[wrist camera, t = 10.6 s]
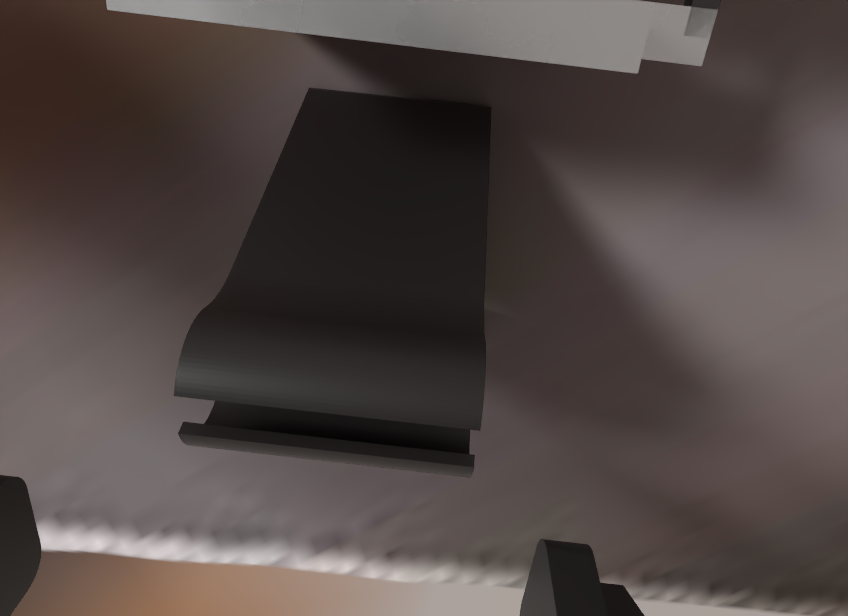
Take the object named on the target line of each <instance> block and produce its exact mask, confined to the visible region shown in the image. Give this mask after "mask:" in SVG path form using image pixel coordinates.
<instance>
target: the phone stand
mask: <svg viewBox="0 0 848 616" xmlns="http://www.w3.org/2000/svg"><path fill="white" fill-rule="evenodd" d="M490 127H491V107H485V106H476V105H467V104H457V103H448V102H438V101H429V100H420V99H410V98H401V97H391V96H382V95H373V94H363V93H354V92H344V91H335V90H326V89H316V88H309V89H308V92H307V94H306V96H305V99H304V101H303V103H302V106H301V108H300V110H299V113H298V115H297V117H296V120H295V122H294V124H293V127H292V129H291V131H290V134H289V136H288V138H287V141H286V143H285V145H284V148H283V150H282V152H281V155H280V157H279V159H278V162H277V164H276V166H275V169H274V171H273V174H272V176H271V178H270V181H269V183H268V185H267V188H266V190H265V192H264V195H263V197H262V199H261V202H260V204H259V206H258V209H257V211H256V213H255V216H254V218H253V220H252V223H251V225H250V227H249V230H248V232H247V234H246V237H245V239H244V241H243V244H242V246H241V248H240V251H239V253H238V255H237V258H236V260H235V262H234V265H233V267H232V269H231V272H230V274H229V276H228V278H227V280H226V282H225V284H224V286H223V287H222V289H221V291H220V292H219V294H218V295H217V296H216V298H215V299H214V300H213V301H212V302H211V303H210V304H209V305H208V306H207V307H205V308H204V309H203V310H202V311H201V312H200V313H199V314H198V315H197V317H196V318H195V320H194V321H193V323H192V325H191V327H190V329H189V331H188V334H187V336H186V339H185V342H184V344H183V348H182V351H181V355H180V359H179V363H178V368H177V374H176V380H175V390H174V396H179V397H188V398H197V399H206V400H214V401H215V403H214V406H213V408H212V411H211V413H210V415H209V417H208V419H207V420H206V422H205V423H204V424H198V423H189V422H183V424H182V426H181V428H180V431H179V433H178V434H179V437H180V439H181V440H182V441H183V442H184V443H185V444H186V445H191V446H200V447H208V448H217V449H226V450H235V451H243V452H252V453H261V454H270V455H278V456H287V457H296V458H305V459H313V460H322V461H331V462H340V463H348V464H357V465H366V466H375V467H383V468H392V469H401V470H410V471H418V472H427V473H436V474H445V475H453V476H462V477H471V476H472V473H473V470H474V455H470V454H469V441H470V430H479V431H480V428H481V419H482V410H483V399H484V387H485V370H486V342H485V334H484V291H485V264H486V237H487V209H488V182H489V155H490Z"/></svg>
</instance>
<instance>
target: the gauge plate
mask: <svg viewBox="0 0 848 616" xmlns="http://www.w3.org/2000/svg"><path fill="white" fill-rule="evenodd" d="M720 2H721V0H685V2H684V6H682V5H673V4H665V3H657V2H648V1H640V0H106V4H107V10H113V11H121V12H129V13H138V14H146V15H154V16H163V17H171V18H179V19H188V20H196V21H204V22H212V23H221V24H229V25H237V26H246V27H254V28H262V29H271V30H279V31H287V32H295V33H304V34H312V35H320V36H329V37H337V38H345V39H354V40H362V41H370V42H378V43H387V44H395V45H403V46H412V47H420V48H428V49H437V50H445V51H453V52H461V53H470V54H478V55H486V56H495V57H503V58H511V59H520V60H528V61H536V62H544V63H553V64H561V65H569V66H578V67H586V68H594V69H603V70H611V71H619V72H627V73H636V74H638V71H639V67H640V63H641V59H645V60H654V61H662V62H670V63H679V64H687V65H695V66H702V64H703V60H704V57H705V54H706V50H707V47H708V43H709V40H710V36H711V33H712V29H713V26H714V22H715V19H716V16H717V12H718V9H719V5H720Z"/></svg>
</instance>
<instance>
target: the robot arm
mask: <svg viewBox="0 0 848 616" xmlns="http://www.w3.org/2000/svg"><path fill="white" fill-rule="evenodd" d="M40 558H41V544H40V539H39V535H38V531H37V527H36V523H35V519H34V514H33V510H32V506H31V502H30V498H29V494H28V489H27V486H26V483H25V482H24V480H23V479H21V478H19V477H13V476H4V475H0V616H10V615H11V614H12V612H13V611H14V609H15V608H16V607H17V605H18V604H19V602H20V601H21V599H22V598H23V596H24V595H25V594H26V592H27V591H28V589H29V587H30V586H31V584H32V582H33V580H34V578H35V576H36V573H37V570H38V567H39V563H40ZM520 616H644V614H643V613H642V612H641V610H640V609H639V607H638V606H637V604H636V603H635V602H634V600H633V599H632V597H631V596H630V594H629V593H628V592H627V590H626V589H625V587H624V586H623V585H615V584H607V583H600V580H599V576H598V571H597V567H596V563H595V559H594V555H593V551H592V549H591V547H590V546H589V545H587V544H580V543H571V542H562V541H553V540H545V539H541V540H540V541H539V542H538V545H537V548H536V552H535V555H534V559H533V563H532V566H531V570H530V574H529V577H528V581H527V585H526V588H525V592H524V596H523V600H522V604H521V610H520Z"/></svg>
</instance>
